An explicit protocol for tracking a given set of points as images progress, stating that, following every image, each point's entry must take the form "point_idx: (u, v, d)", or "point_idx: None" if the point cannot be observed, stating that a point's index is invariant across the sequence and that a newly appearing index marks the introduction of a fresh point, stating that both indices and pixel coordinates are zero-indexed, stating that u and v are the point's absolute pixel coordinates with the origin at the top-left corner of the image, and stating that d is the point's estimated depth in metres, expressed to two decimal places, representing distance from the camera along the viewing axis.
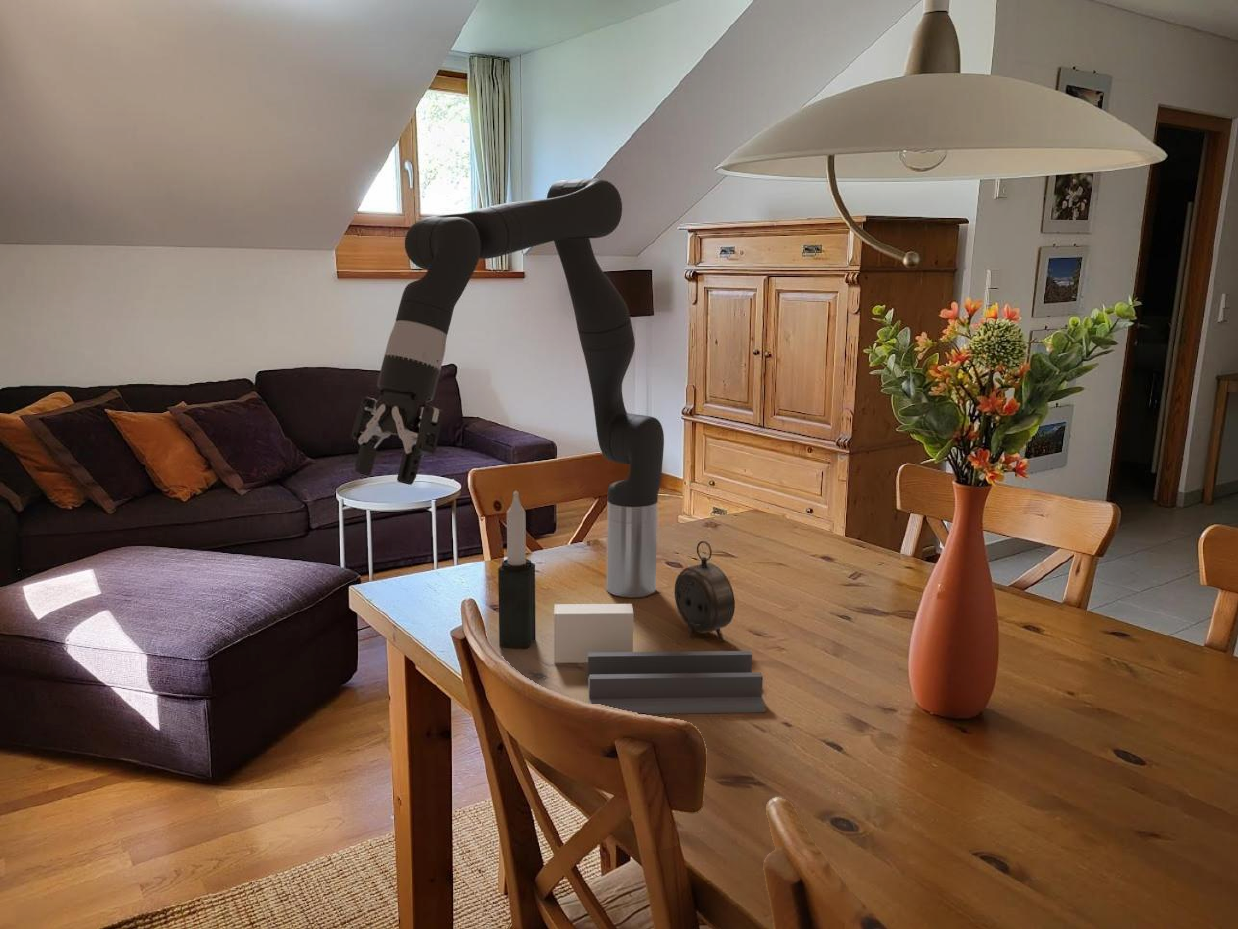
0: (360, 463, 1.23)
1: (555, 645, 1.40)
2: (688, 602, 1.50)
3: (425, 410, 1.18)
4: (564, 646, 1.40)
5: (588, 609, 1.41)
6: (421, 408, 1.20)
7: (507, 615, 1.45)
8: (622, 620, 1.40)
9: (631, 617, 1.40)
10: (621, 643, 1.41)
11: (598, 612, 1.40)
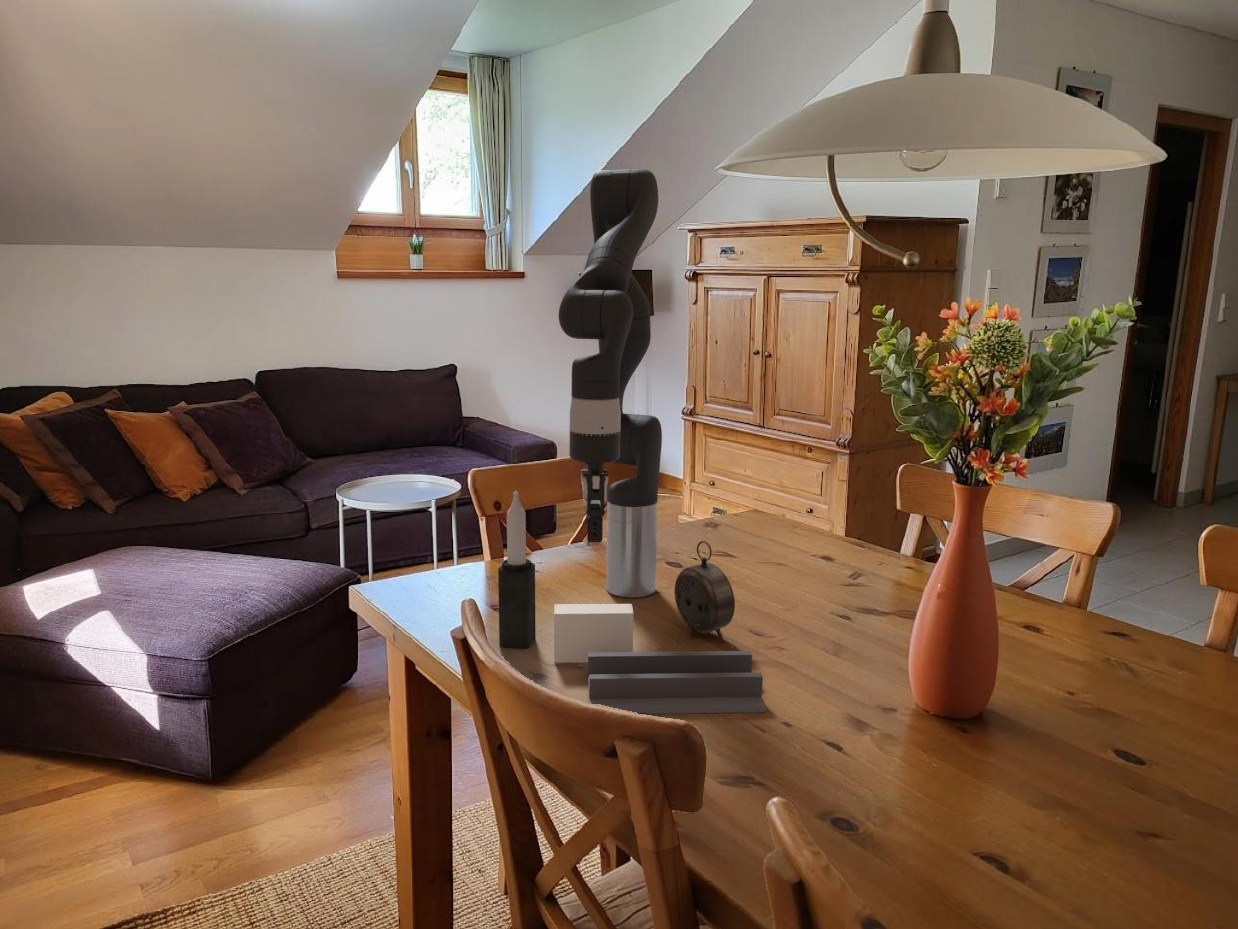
0: (586, 518, 1.42)
1: (555, 645, 1.40)
2: (688, 602, 1.50)
3: None
4: (564, 646, 1.40)
5: (588, 609, 1.41)
6: (592, 475, 1.33)
7: (508, 615, 1.45)
8: (622, 620, 1.40)
9: (631, 617, 1.40)
10: (621, 643, 1.41)
11: (598, 612, 1.40)
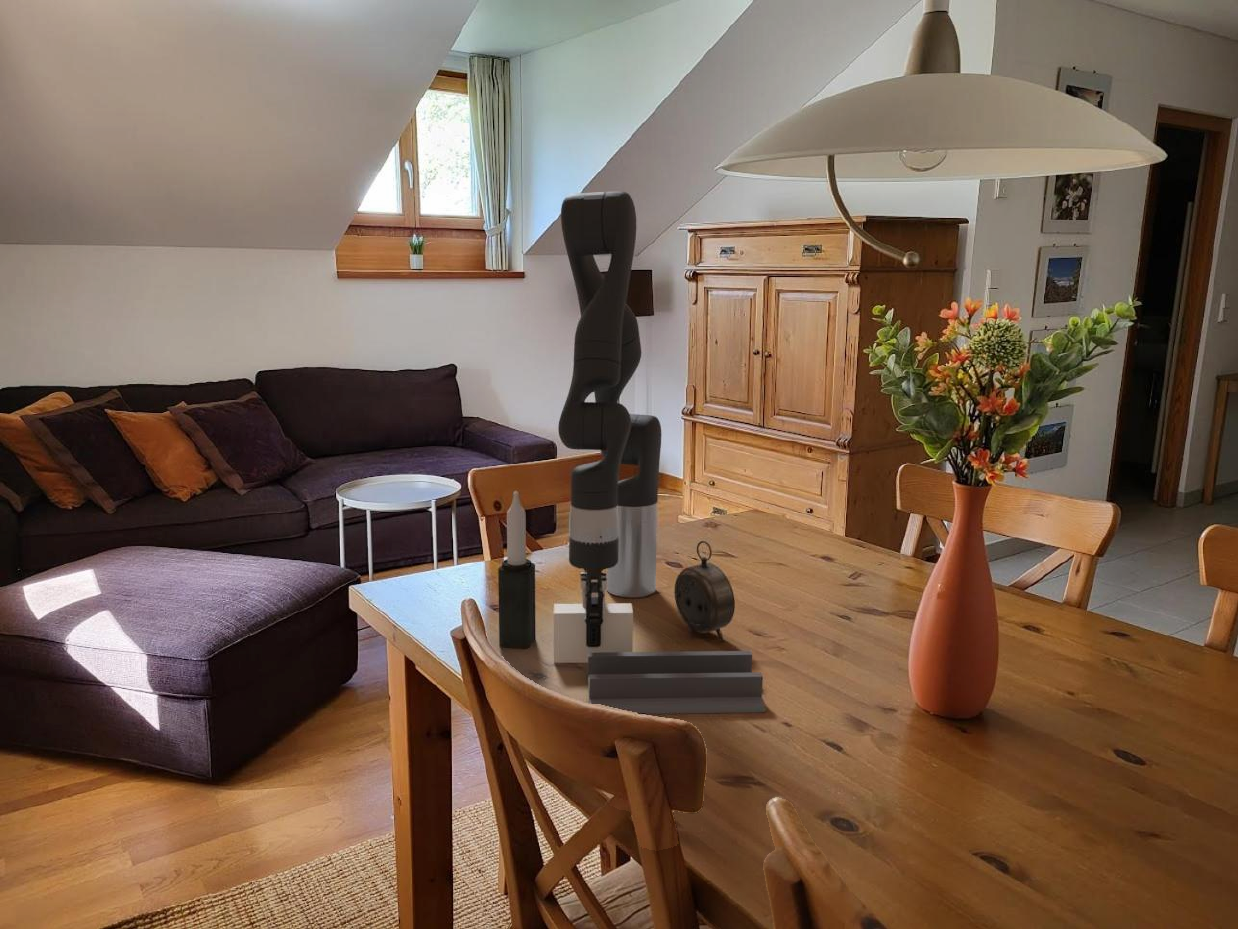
0: None
1: (555, 645, 1.40)
2: (688, 602, 1.50)
3: None
4: (564, 646, 1.40)
5: None
6: (591, 586, 1.36)
7: (508, 615, 1.45)
8: (622, 619, 1.40)
9: (631, 617, 1.40)
10: (621, 642, 1.41)
11: None
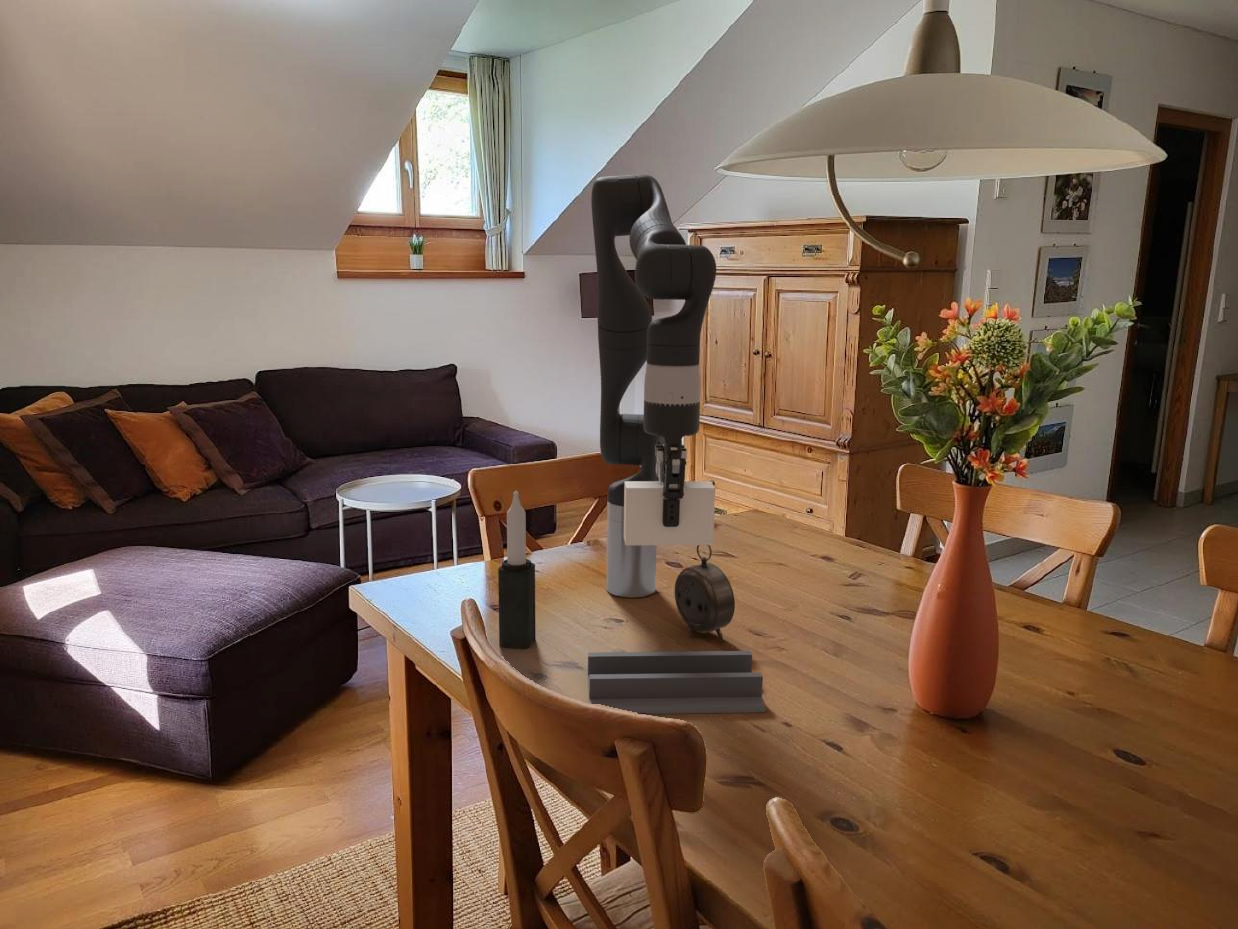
0: None
1: (627, 524, 1.24)
2: (688, 602, 1.50)
3: None
4: (637, 526, 1.24)
5: None
6: (671, 454, 1.20)
7: (508, 615, 1.45)
8: (702, 495, 1.24)
9: (712, 493, 1.24)
10: (700, 522, 1.25)
11: (675, 487, 1.24)
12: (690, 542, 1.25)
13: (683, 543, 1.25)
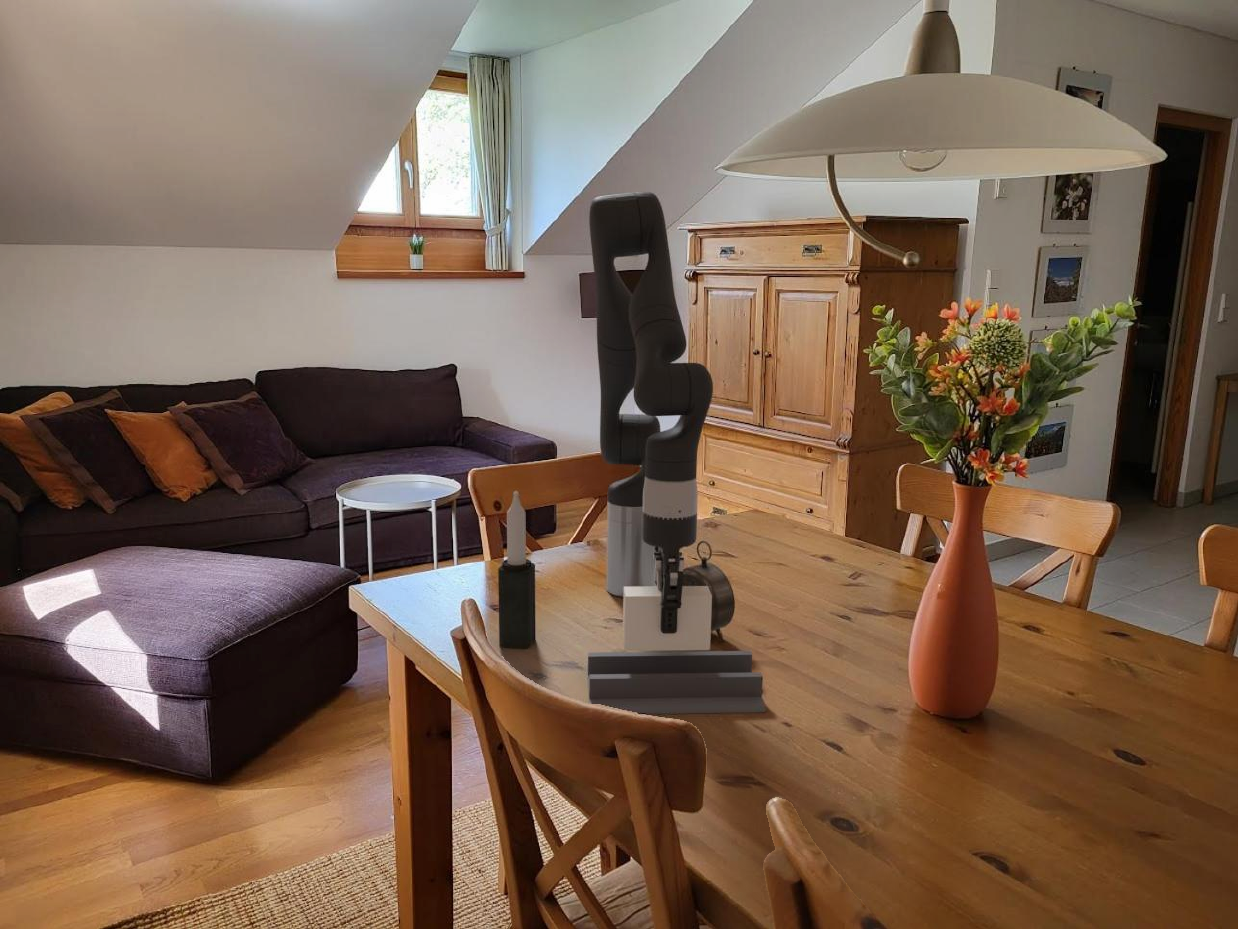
0: None
1: (626, 631, 1.28)
2: None
3: None
4: (636, 632, 1.28)
5: None
6: (668, 566, 1.23)
7: (508, 615, 1.45)
8: (699, 603, 1.27)
9: (709, 600, 1.27)
10: (698, 629, 1.28)
11: None
12: (687, 647, 1.29)
13: (681, 648, 1.29)
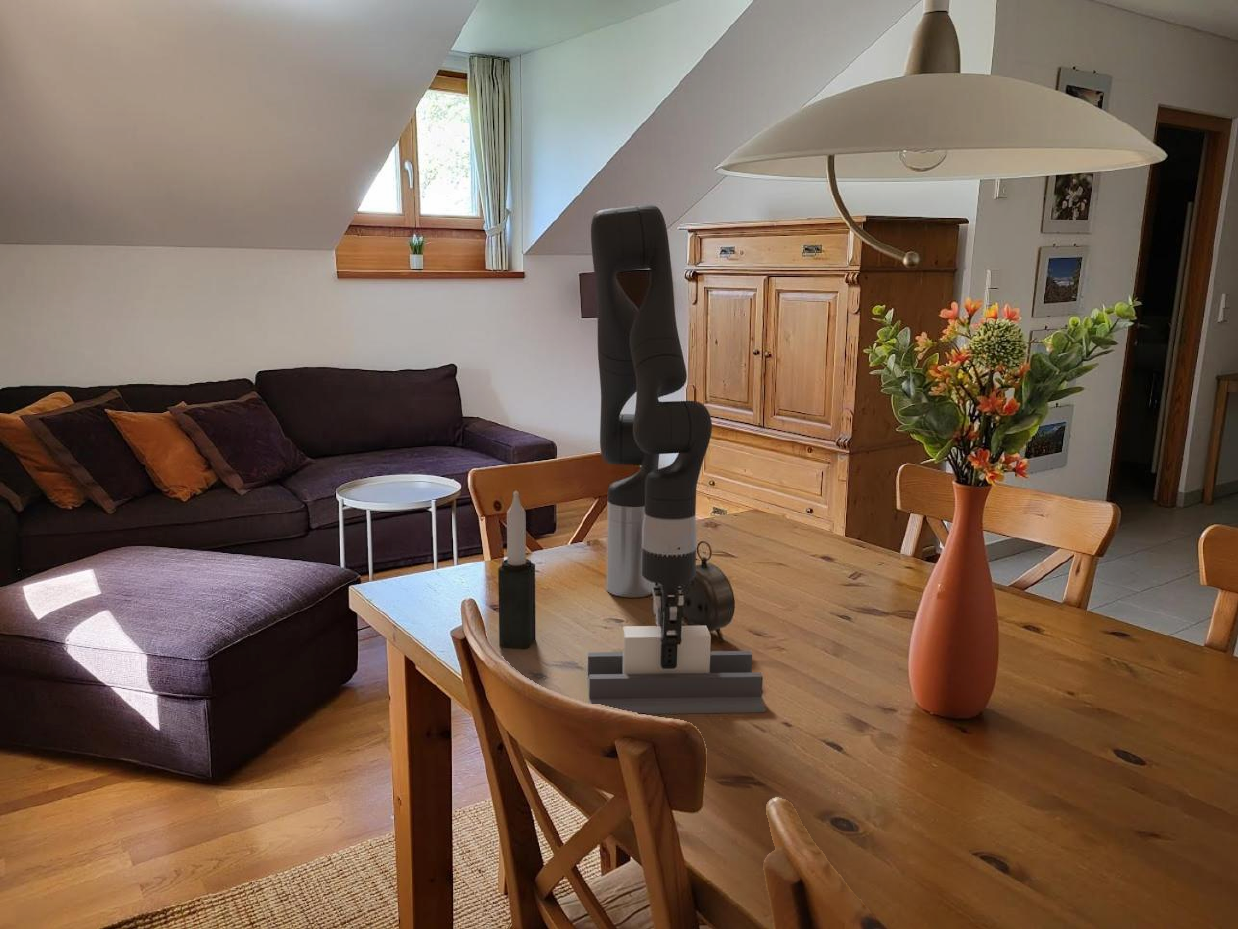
0: None
1: (625, 671, 1.29)
2: (688, 602, 1.50)
3: (663, 610, 1.23)
4: (635, 672, 1.29)
5: None
6: (668, 601, 1.24)
7: (508, 615, 1.45)
8: (698, 643, 1.29)
9: (708, 641, 1.29)
10: (697, 669, 1.29)
11: None
12: None
13: None
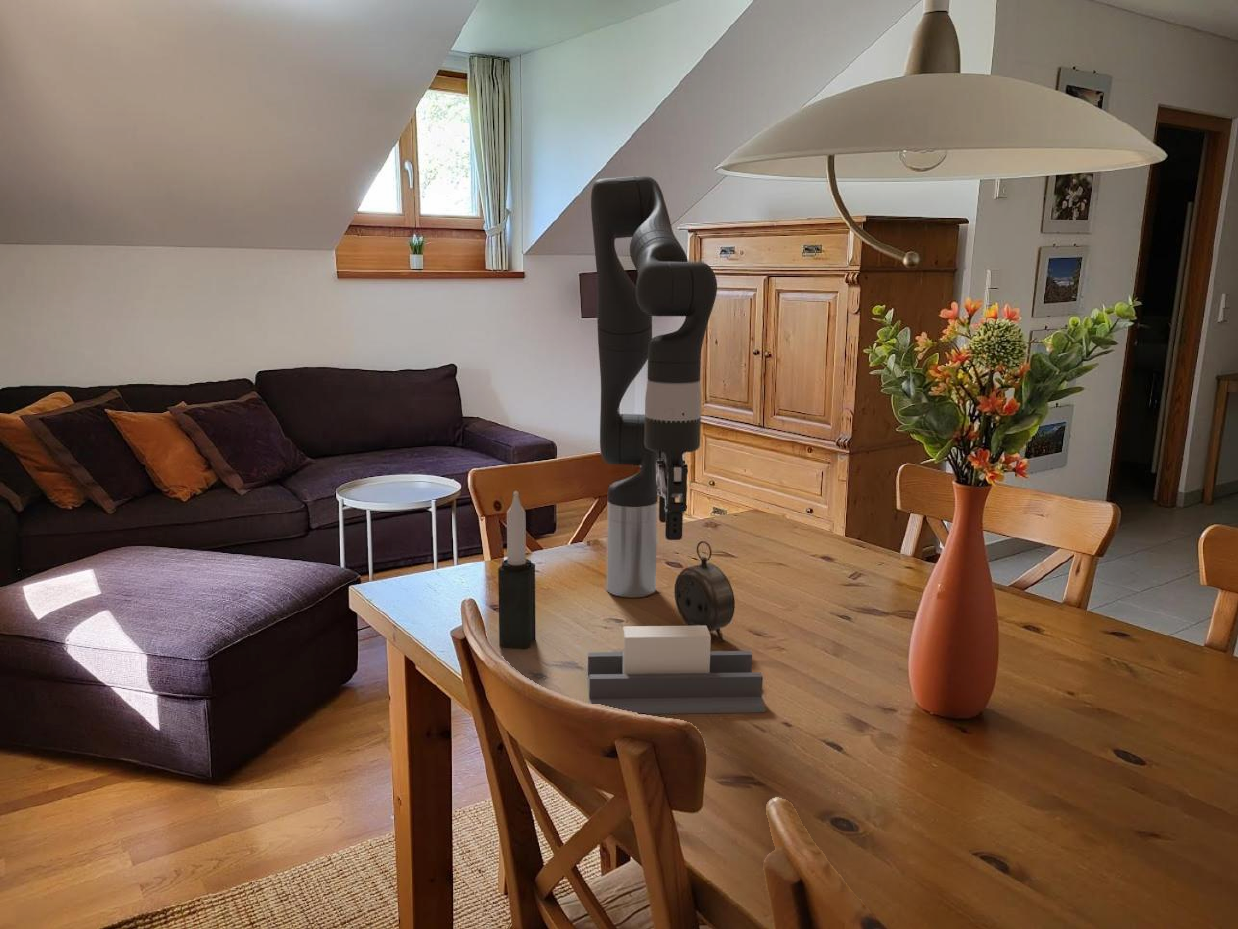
0: (660, 513, 1.30)
1: (625, 671, 1.29)
2: (688, 602, 1.50)
3: (667, 471, 1.19)
4: (635, 672, 1.29)
5: (660, 632, 1.30)
6: (672, 466, 1.20)
7: (508, 615, 1.45)
8: (698, 643, 1.29)
9: (708, 641, 1.29)
10: (697, 669, 1.29)
11: (672, 635, 1.29)
12: None
13: None
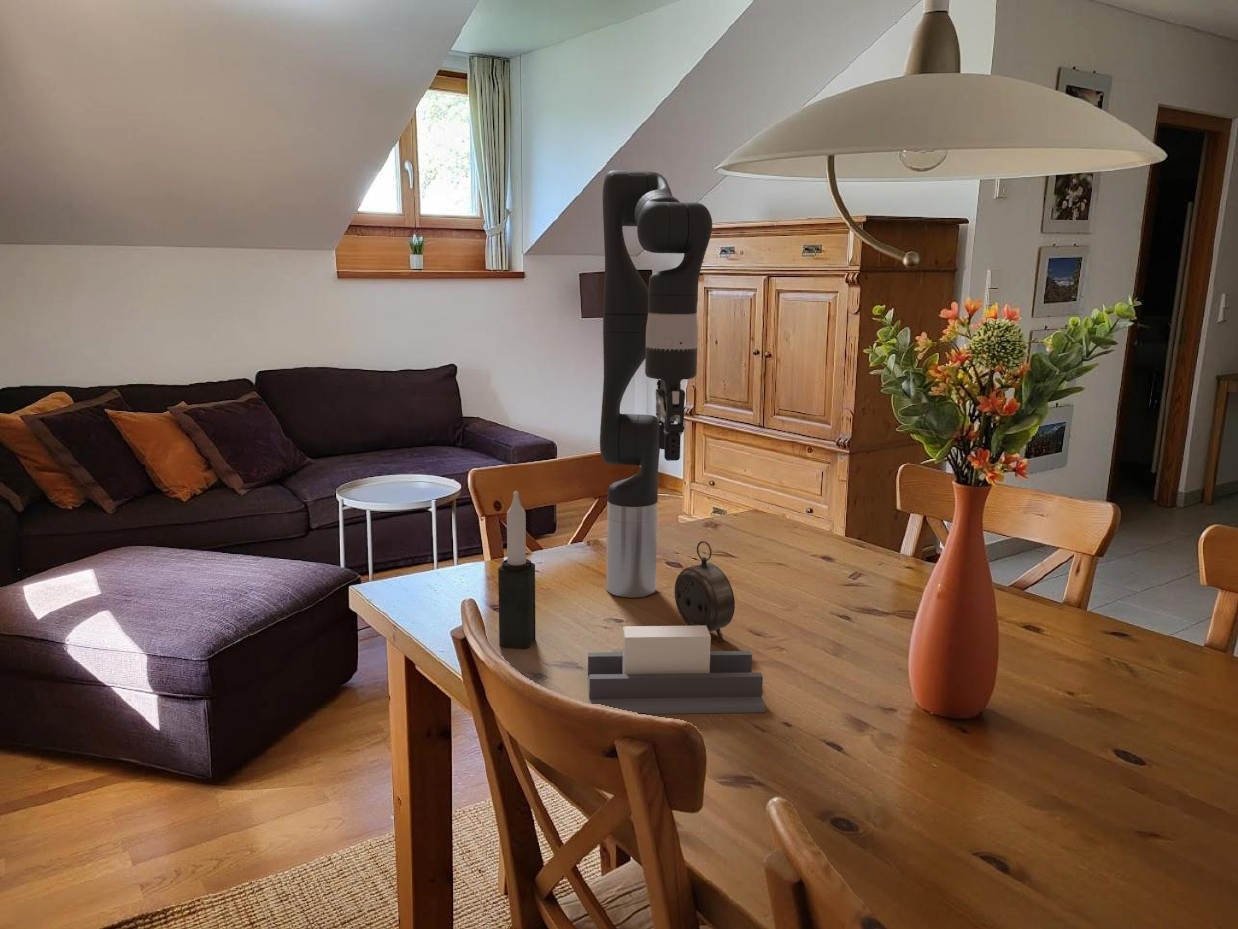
0: (659, 440, 1.40)
1: (625, 671, 1.29)
2: (688, 602, 1.50)
3: (666, 395, 1.29)
4: (635, 672, 1.29)
5: (660, 632, 1.30)
6: None
7: (508, 615, 1.45)
8: (698, 643, 1.29)
9: (708, 641, 1.29)
10: (697, 669, 1.29)
11: (672, 635, 1.29)
12: None
13: None
